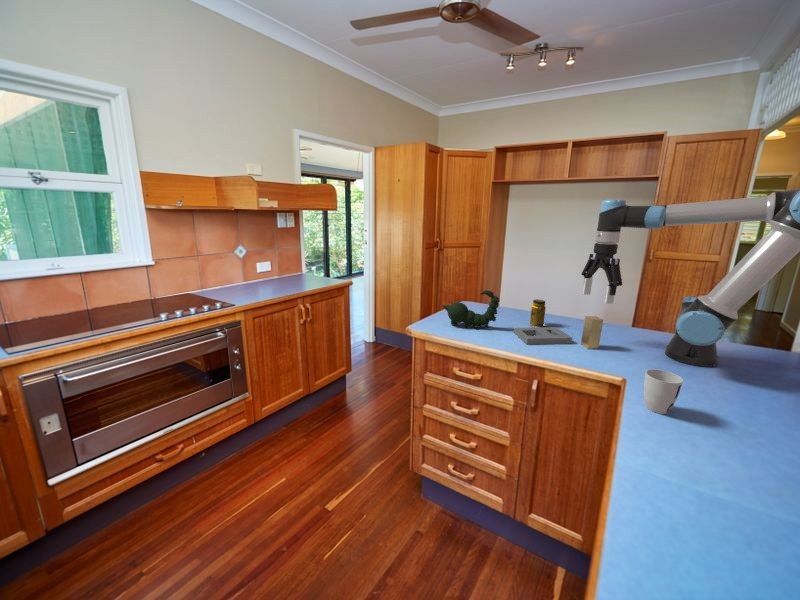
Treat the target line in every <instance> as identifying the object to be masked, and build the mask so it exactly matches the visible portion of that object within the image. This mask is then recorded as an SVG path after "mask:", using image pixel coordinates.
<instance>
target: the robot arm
mask: <svg viewBox="0 0 800 600" xmlns="http://www.w3.org/2000/svg"><path fill="white" fill-rule="evenodd" d="M626 202H627V201H626V200H624V199H605V200H603V201H602V202H601V206H600V209H599V210H600V211H599V212H598V214H599V215H598V223H597V229H596V233H595V234H596V235H595V243H594V247H593V253H590V254H589V257H588V259H587V262H586V263H585V266H584V268H583V270H582V271H581V276H583V277H584V280H583V291H582V295H591V292H592V285H593V276H594V275H595V274H596V272H597V271H598V270H599V269H601V270H603V271H604V273H605V276H606V278H607V281H608V285H607V287H606V293H605V299H604V304H606V305H607V304H614V300H615V296H616V293H617V287H619V286H621V287H622V286H623V281H622V280H623V279H622V273H621V267H620V261H621V260H620V258H617V257H616V258H615V257H614V255H617V253H618V247H619V245H618V244H619V242H620V237H621V230H622V228H634V229H635V228H636V229H648V230H651V229H656V230H657V229H661V228H662V227H669V226H670V227H671V226H673V227H674V226H688V225H691V226H692V225H710V224H712V225H713V224H727V223H729V224H731V223H732V224H733V223H749V222H765V223H767V224H769V225H770V227H771V228H770V229H769V230H768V231H767V232H766V233H765V234H764V235H763V237H762V238H761V239H760V240H758V242H757V243H756V244H755V245H753V247H752V248H751V249H750V250H749V251H748V252H747V253H746V254H745V255H744V256H743V257H742V258H741V260H739V261H738V263H737V264H735V266H734V267H733V268H732V269H731V270H730V271H729V272H728V273H727V274H726V275H725V276H724V277H723V278H722V279H721V280H720V281H719V282H718V283H717V284H716V285H715V287H713V288H712V290H710V292H708V293H707V294H705V295H698V296H685V297H684V298H682V302H681V307H680V311H679V315H678V317H677V320H676V322H675V332H674V335H673V337H672V338H671V339H670V341H669V343H668V344H667V345H666V347H665V348H664V349H665V351H664V355H666V356H667V357H668V358H670V359H672V360H674V361H677V362H680V363H682V364H687V365H691V366H697V367H705V368H706V367H707V368H709V367H716V366H717V365H718V363H719V362H718V361H719V356H718V351H717V342H718V341H720V340H721V339H722V338H723V336H724V335H725V332H726V330H728V328H729V327H730V326H731V325H732V324H734V323H735V322H736V321H737V320H738V319H739V317H738V311H739V310H740V309H741V308H742V307H743V306H744V305H746V303H747V302H748V301H749V300H750V299H751V298H753V296H754V295H755V294H756V293H758V292H759V291H760V289H762V288H763V287H764V286H765V285H766V284H767V283H768V282H769V281H770V280H771V279H772V278H773V277H774V276H775V275H776V274H778V273H779V271H780V270H782V269H783V267H785V266H786V265H787V264H788V263H789V262H790V261H791V260H792V259H793V258H794V257H795V256H796V255H797V254H798V253H800V188H795V189H790V190H784V191H783V190H782V191H775V192H771V193H770V194H769V195H767V196H754V197H744V198H743V197H742V198H741V197H740V198H734V199H733V198H732V199H721V200H708V201H697V202H696V201H695V202H686V203H685V202H684V203H675V204H674V203H673V204H661V205H627V204H626Z"/></svg>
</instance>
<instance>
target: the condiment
mask: <svg viewBox="0 0 800 600" xmlns="http://www.w3.org/2000/svg"><path fill="white" fill-rule="evenodd" d="M545 315H546V301H545V300H543V299H538V298H537V299H533V301H532V305H531V311H530V318H529V319H530V320H529V323H530V325H529V326H531V325H532V326H531V327H532V328H539V327H542V326H543V324H544V323H545ZM534 326H535V327H534ZM545 327H551V325H549V326H545Z"/></svg>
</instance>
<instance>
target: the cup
mask: <svg viewBox="0 0 800 600" xmlns="http://www.w3.org/2000/svg"><path fill="white" fill-rule="evenodd" d="M683 382H684V379H683V378H682V377H681V376H679V375H678V374H676V373H674V372H671V371H668V370H667V371H666V370H663V369H656V368H655V369H654V368H652V369H650V368H649V369H647V370H645V374H644V382H643V399H644V405H645V408H646V409H647V410H648V409H649V410H648V411H650V412H652V411H653V413H655V412H656V413H655V414H658V413H660V414H659V415H667V414H668V413H669V412H670V410H672V408H673V406H674V405H675V402H676V401H677V400H678V398H679V397H678V396H679V395H680V392H681V389H682V385H683ZM666 413H667V414H666Z"/></svg>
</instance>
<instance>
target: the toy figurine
mask: <svg viewBox="0 0 800 600" xmlns="http://www.w3.org/2000/svg"><path fill="white" fill-rule="evenodd" d="M494 294H495V293H494V292H493V291H491V290H488V289H486V290H483V291H482V292H480V296H482V295H486V296H488V298H490V302H489V304H488V307H487V308H486V311H485V312H484V313H475V311H474V310H471V309H469V308H468V307H467V305H466V304H464V303H463V302H460V301H457V302H453V303H451V304H450V305H449V304H448V305H446V304H445V305H441V307H442V308H443V309H445V311H446V312H447V316H448V318H449V320H450V324H451V325H452V326H454V325H455V326H457V325H458V323H463V325H464V327H465V328H469V327H470V326H473V328H474V329H475V330H478V329H479V328H480V327H481V326H483V327H484V328H485V329H487V328H488V327H489V323H490V322H491V321H492V322H496V320H497V317H496V315H497V314H498V308H499V302H500V298H499V296H497V295H494Z"/></svg>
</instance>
